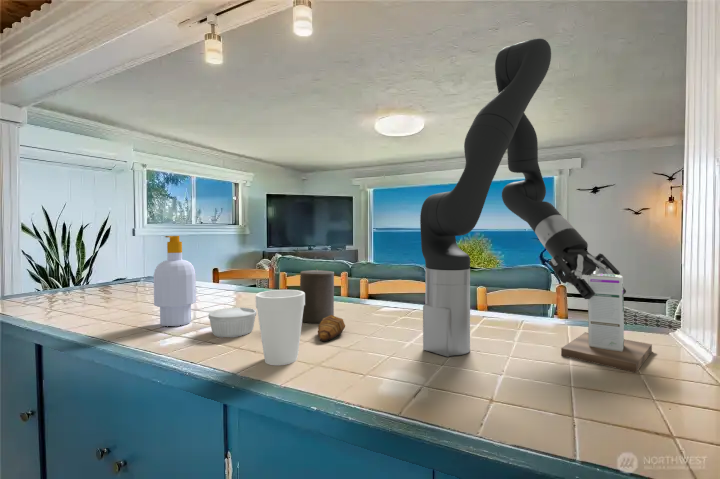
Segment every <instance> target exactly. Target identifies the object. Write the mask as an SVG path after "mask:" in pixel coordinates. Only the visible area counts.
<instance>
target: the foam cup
mask: <svg viewBox="0 0 720 479" xmlns="http://www.w3.org/2000/svg"><path fill="white" fill-rule="evenodd" d="M304 305H305V293H304V292H303V291H300V289H299V290H298V289H273V290H265V291H260V292H258V293H255V309H256V312H257V317H258V324H259V330H260V337H261V338H260V339H261V346H262V351H263V357H264V363H265V364H267V365H271V366H284V365H285V366H286V365H289V364H292V363H295V362H296V361H297V360H298V356H299V351H300V341H301V334H302V324H303V322H302V318H303V309H304Z"/></svg>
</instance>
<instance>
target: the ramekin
mask: <svg viewBox="0 0 720 479" xmlns="http://www.w3.org/2000/svg"><path fill="white" fill-rule="evenodd" d="M207 316H208V317H207V318H208V319H209V322H210V329H211V332H212V334H213V335H214V336H215V337H218V338H223V337H230V338H237V337H238V336H239V337H243V336H246V335H249V334H251V333H252V332H253V330H254V327H255V322H256V321H255V320H256V316H257V309H254V308H250V307H228V308H227V307H226V308H221V309H215V310H213V311H210V312H209V313H208V315H207ZM248 333H249V334H248ZM242 335H243V336H242ZM239 337H238V338H239Z"/></svg>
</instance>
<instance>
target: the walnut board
mask: <svg viewBox="0 0 720 479" xmlns="http://www.w3.org/2000/svg"><path fill="white" fill-rule="evenodd" d="M560 349H561V350H560V352H561V353H560V355H561V357H566V358H567V357H568V358H570V359H574V360H579V361H583V362H588V363H593V364H597V365H601V366H606V367H610V368H615V369H618V370H619V369H620V370H623V371H628V372H632V373H636V374H637V372H638V371H639V369H640V368H641V367H642V365H643V364H644V363H645V361H646V360H647V359H648V358H649V356H650V354H652V351H653V344H652V343H646V342H642V341H637V340H631V339H625V338H624V347H623V351H622V352H621V351H613V350H607V349H601V348H595V347H591V346H589V339H588V332H585V331H584V332H583V333H582V334H580V335H579V336H577V337H576V338H574V339H573V340H571V341H570V342H568V343H566V344H565V345H564V346H562V347H561V348H560Z"/></svg>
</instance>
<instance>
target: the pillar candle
mask: <svg viewBox="0 0 720 479" xmlns="http://www.w3.org/2000/svg"><path fill="white" fill-rule="evenodd" d="M315 269H316V270H314V269H313V270H312V269H311V270H301V271H300V276H299V277H300V278H299V281H300V283H299V291H303V292H304V293H305V305H304V309H303V318H302V323H307V324H311V325H312V324H320V323H321V321H322V320H323V318H326V317H328V316H330V315H333V316H335V311H334V310H335V271H330V270H321V269H320V270H319V269H318V268H317V266H316V267H315Z"/></svg>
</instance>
